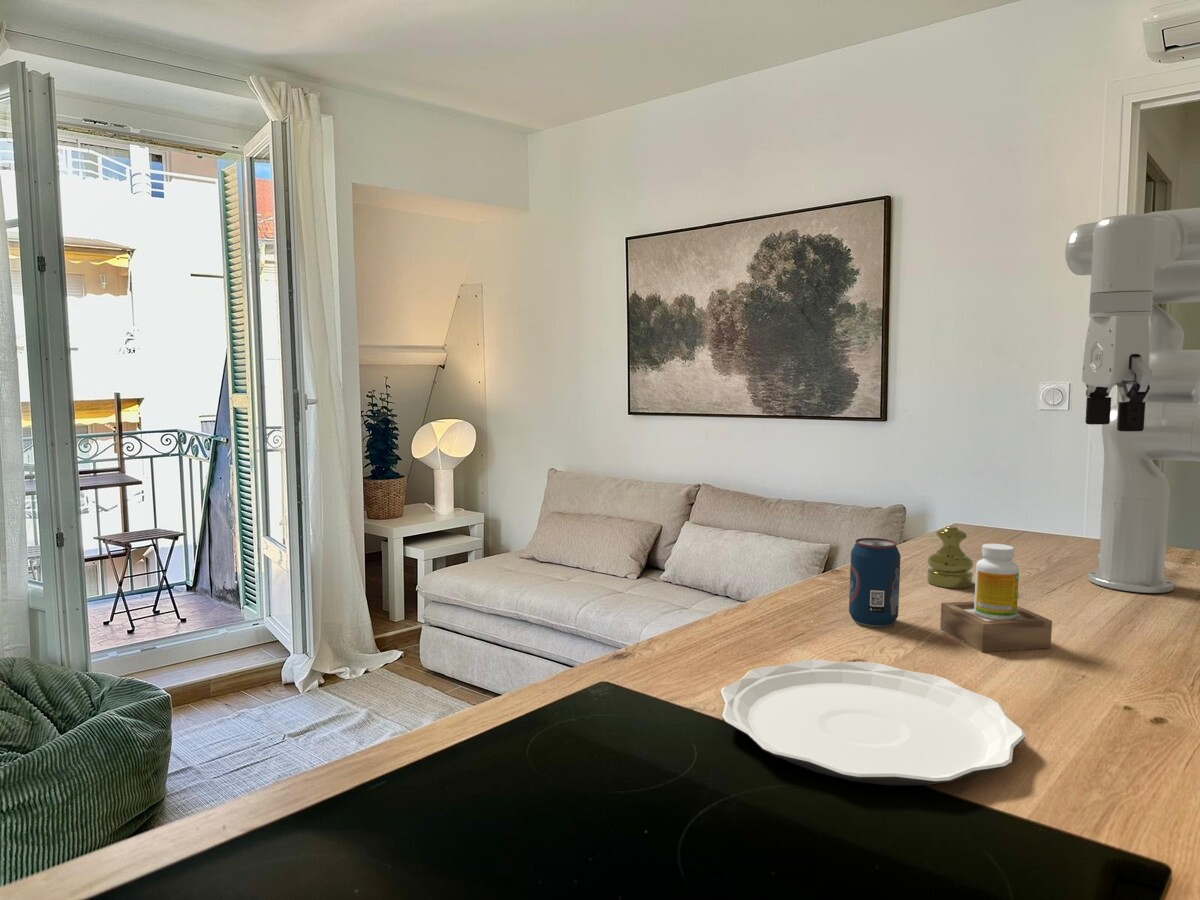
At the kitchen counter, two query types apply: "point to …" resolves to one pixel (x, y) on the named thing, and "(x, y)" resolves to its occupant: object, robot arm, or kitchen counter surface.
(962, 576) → the green chess piece
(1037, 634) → the picture frame
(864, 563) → the soda can
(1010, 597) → the supplement bottle
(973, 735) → the plate
